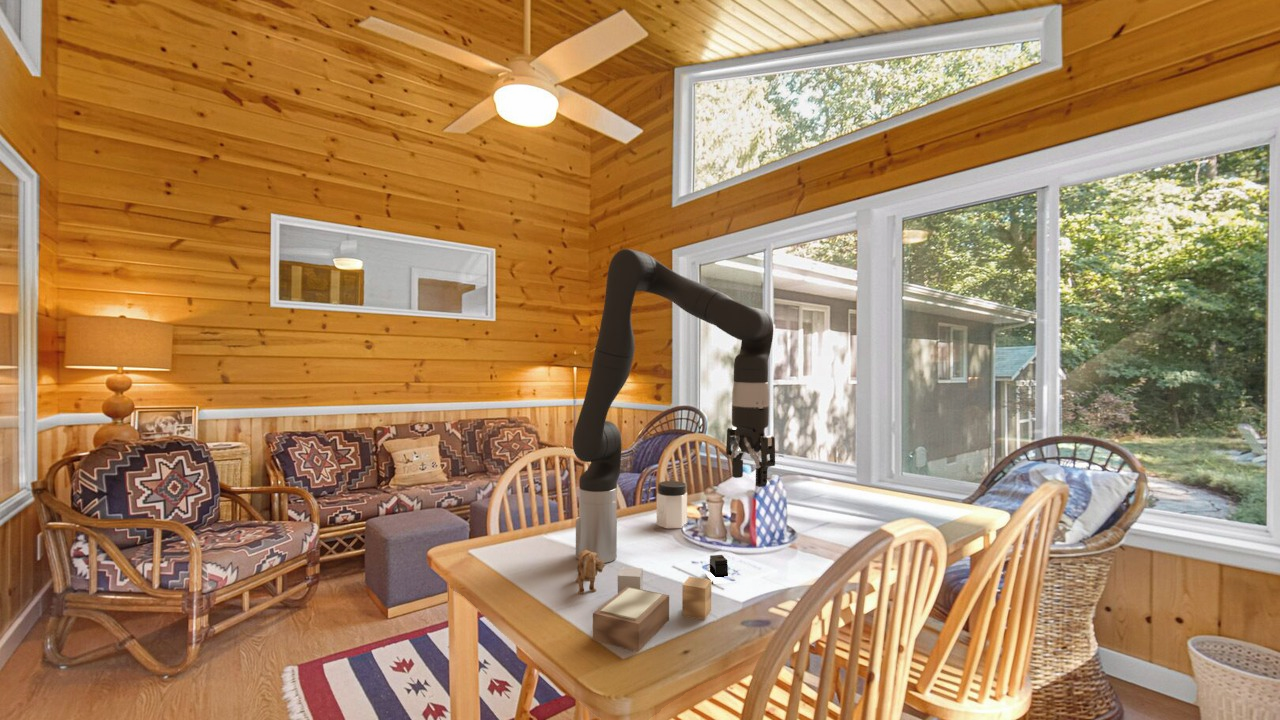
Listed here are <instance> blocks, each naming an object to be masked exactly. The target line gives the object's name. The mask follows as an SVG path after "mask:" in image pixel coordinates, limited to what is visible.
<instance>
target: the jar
mask: <svg viewBox="0 0 1280 720" xmlns="http://www.w3.org/2000/svg"><path fill="white" fill-rule="evenodd" d="M657 485H658V486H657V490H658V491H657V493H656V526H659V527H662V528H664V529H666V530H667V529H682V528H683V527H684V526H683V525H684V524H686V523H687V524H688V492H687V484H686V483H685V482H683V481H677V480H665V481H664V480H663V481H659V482H658V483H657ZM687 524H686V525H687ZM682 526H683V527H682Z"/></svg>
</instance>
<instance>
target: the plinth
mask: <svg viewBox="0 0 1280 720" xmlns="http://www.w3.org/2000/svg"><path fill="white" fill-rule="evenodd" d="M669 621H670V594H666V593H661V592H655V591H650V590H644V589H643V590H641V589H636V588H631V587H626V588H624V589H623V590H622V591H621V592H619V593H618V592H617V594H615V595H614V596H613V597H611V598H610V599H609V600H608V601H606V602H605V603H604V604H603V605H601V606H600V607H598V608H597V609H596V610H595V611H593V612H592V641H595V642H599V643H604V644H607V645H610V646H615V647H619V648H623V649H628V650H631V651H635V652H640V651H642V649H644V647H645V646H646V645H647V644H648V643H649V642H650V640H652V639H653V638H654V637H655V635H656V634H657V633H658V632H659V631H660V630H661V629H662V628H664V626H665V625H666V624H667V623H668V622H669Z"/></svg>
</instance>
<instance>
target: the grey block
mask: <svg viewBox="0 0 1280 720" xmlns="http://www.w3.org/2000/svg"><path fill="white" fill-rule="evenodd" d="M643 571H644V569H643V568H641V567H623V566H622V567H620V569H619V571H618V574H617V594H618V593H619V592H621V591H622V590H623V589H624V588H626V587H631V588H636V589H641V590H644V589H643V586H644V585H643V582H644V581H643V578H644V573H643Z"/></svg>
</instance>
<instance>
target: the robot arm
mask: <svg viewBox="0 0 1280 720" xmlns="http://www.w3.org/2000/svg"><path fill="white" fill-rule="evenodd" d="M606 278H607V279H606V285H605V286H606V288H605V299H604V305H603V311H602V317H601V319H600V320H601V321H600V325H599V326H600V327H599V330H598V331H599V332H598V335H597V339H596V345H595V349H594V353H593V354H594V355H593V358H592V365H591V368H590V369H591V370H590V375H589V378H588V383H587V387H586V391H585V396H584V400H583V404H582V407H581V409H580V413H579V416H578V418H577V422H576V425H575V427H574V431H573V437H572V448H573V453H574V454H575V456H576V458H577V459H578V460H579V461H581V462H582V463H583V462H584V463H589V466H588V468H587V469H586V470H585V471H584V472H583V473H582V474H581V475H580V476H579V482H578V487H579V490H578V495H579V496H578V497H579V498H578V499H579V501H578V512H579V514H578V516H579V517H578V518H576V520H575V559H577V560H579V555H580V553H581V552H582V551H584V550H588V551H590V552H592V553H594V552H595V553H597V558H599V559H600V561H601V562H603V563H604V564H606V563H610V562H612V561H614V560H616V559H617V557H618V556H617V555H618V554H617V551H618V550H617V549H618V548H617V546H618V545H617V542H618V540H617V539H618V537H617V534H618V530H617V529H618V524H617V522H618V516H617V515H618V504H617V503H618V500H617V499H618V488H617V487H618V480H619V477H620V475H621V467H622V466H621V465H622V446H623V445H622V443H623V442H622V436H621V435H622V434H621V431H620V429H619V428H618V426H617V424H615V423H614V422H612V421H608V420H607V416H608V413H609V411H610V408H611V405H612V404H613V402H614V400H615V399H616V398H617V396H618V395H619V393H620V392H621V390H622V388H623V387H624V385H625V384H626V382H627V381H628V379H629V376H630V373H631V369H632V364H633V360H634V356H635V351H636V350H635V349H636V346H635V345H636V343H635V335H634V331H633V323H632V308H633V305H634V299H635V295H636V292H645V293H649V294H653V295H657V296H660V297H662V298H665V299H667V300H669V301H671V302H672V303H674V304H675V305H676V306H677V307H679V308H680V309H682V310H683V311H684V312H686V313H687V314H690V315H691V316H692V317H693V316H694V317H696V318H697V319H700V320H702V321H704V322H706V323H708V324H711V325H713V326H715V327H717V328H718V329H720V330H721V331H723V332H725V333H726V334H727V335H729V336H731V337H733V338H734V339H737V340H740V341H741V343H740V349H739V353H738V354H737V355H736V356H735V358H734V362H733V385H732V393H731V396H732V397H731V425H732V426H733V427H728V428H727V430H726V443H725V444H726V445H725V447H726V448H725V454H726V456H730V457H729V458H730V460H731V462H732V463H731V464H732V465H731V466H732V467H731V469H732V471H731V473H732V474H731V476H732V477H733V478H735V479H738V478H743V476H744V459H743V458H744V457H745V455H746V454H748V455H749V456H750V458H751V459H752V460H753V461H754V464H755V467H756V468H755V486H756V487H758V488H763V487H766V486H767V483H768V469H769V468H770V467H775V466H776V442H775V441H776V440H775V439H776V438H775V436H774V435H765V429H766V428H768V427H769V422H770V421H769V420H770V419H769V417H770V414H769V413H770V411H769V409H770V408H769V407H770V392H769V391H770V389H769V358H770V354H771V350H772V344H773V340H774V339H773V337H774V321H773V318H772V316H771V314H770V313H769V312H767V310H765V309H762V308H757V307H752V306H749V305H747V304H745V303H744V304H743V303H741V302H739V301H736V300H734V299H732V298H731V297H730V296H729V295H727V294H725V293H723V292H721V291H719V290H717V289H715V288H712V287H710V286H708V285H705V284H702V283H701V282H697V281H695V280H692V279H690V278H687V277H685V276H683V275H680V274H679V273H677V272H675V271H674V270H672V269H670V268H668V267H667V266H665V264H663V263H661V262H660V261H658V260H657V259H656V258H654V257H653V256H651V255H650V254H648V253H647V252H643V251H640V250H639V251H638V250H635V249H630V248H623V249H620V250H618V251H617V252H616V253H615V254H614V256H613V257H612V258H611V261H610V263H609V266H608V270H607V277H606ZM606 420H607V421H606ZM732 445H733V446H732ZM768 455H769V459H768Z"/></svg>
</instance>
